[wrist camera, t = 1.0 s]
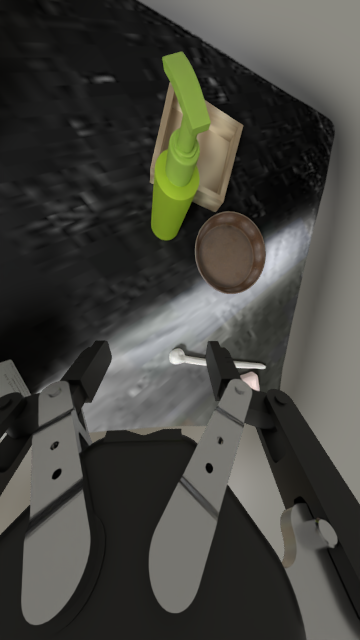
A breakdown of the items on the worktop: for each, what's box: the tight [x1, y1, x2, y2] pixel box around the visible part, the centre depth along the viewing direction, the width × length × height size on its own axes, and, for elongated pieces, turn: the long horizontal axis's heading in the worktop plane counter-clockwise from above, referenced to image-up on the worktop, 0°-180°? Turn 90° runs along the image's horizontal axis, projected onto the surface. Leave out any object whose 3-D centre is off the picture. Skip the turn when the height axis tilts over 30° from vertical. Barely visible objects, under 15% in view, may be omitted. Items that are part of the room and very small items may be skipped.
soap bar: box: [240, 372, 260, 391], centre depth 40 cm, size 5×9×2 cm, turn 103°
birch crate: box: [150, 82, 243, 212], centre depth 29 cm, size 15×15×4 cm
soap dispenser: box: [151, 52, 211, 240], centre depth 22 cm, size 6×7×20 cm
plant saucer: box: [195, 211, 266, 294], centre depth 34 cm, size 18×18×3 cm
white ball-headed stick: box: [169, 348, 266, 369], centre depth 38 cm, size 28×4×3 cm, turn 80°
